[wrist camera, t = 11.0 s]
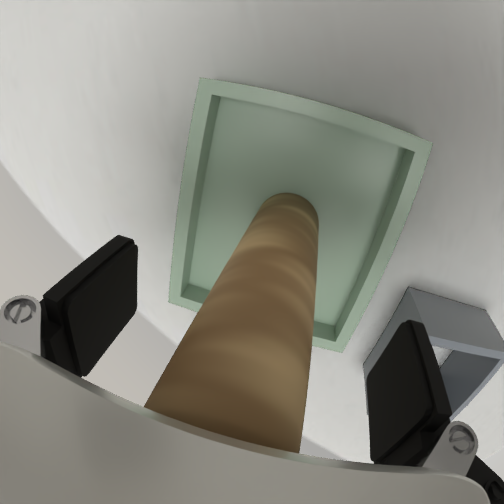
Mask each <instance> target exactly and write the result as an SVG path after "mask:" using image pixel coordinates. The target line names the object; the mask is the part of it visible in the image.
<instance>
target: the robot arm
mask: <svg viewBox="0 0 504 504" xmlns="http://www.w3.org/2000/svg"><path fill="white" fill-rule="evenodd" d="M137 261H138V247H137V245H135V243H134V240H133V239H130V238H127V237H124V236H121V235H117V236H116V237H114V238H113V239H112V240H110V241H109V242H108V243H106V244H105V245H104V246H102V247H101V248H100V249H99V250H97V251H96V252H95V253H93V254H92V255H91V256H90V257H88V258H87V259H86V260H85V261H83V262H82V263H81V264H80V265H78V266H77V267H76V268H75V269H73V270H72V271H71V272H70V273H69V274H67V275H66V276H65V277H64V278H63V279H61V280H60V281H59V282H58V283H57V284H55V285H54V286H53V287H52V288H51V289H50V290H48V291H47V292H46V293H45V294H44V295H43V298H44V299H42V300H41V301H40V302H39V301H38V300H37V299H35V298H34V297H31V296H28V295H20V296H15V297H13V298H11V299H9V300H8V301H6V302H5V303H4V304H3V306H2V307H1V310H0V504H504V482H503V480H502V479H501V478H500V477H499V476H498V475H497V474H496V473H495V472H494V471H492V470H491V469H490V468H489V467H488V466H487V465H486V464H485V463H484V462H483V461H482V460H481V459H480V458H478V457H477V456H476V452H477V449H478V439H477V436H476V434H475V432H474V431H473V429H472V428H471V427H470V426H469V425H467V424H465V423H464V422H460V421H454V422H450V417H451V416H452V415H453V414H452V410H451V406H450V403H449V399H448V396H447V392H446V389H445V385H444V382H443V379H442V375H441V372H440V369H439V366H438V363H437V360H436V357H435V354H434V351H433V348H432V345H431V342H430V339H429V337H428V334H427V331H426V328H425V326H424V324H423V323H421V322H417V321H414V320H410V319H409V320H407V321H406V322H402V323H401V324H400V325H399V327H398V329H397V330H396V332H395V333H394V335H393V337H392V338H391V340H390V342H389V343H388V345H387V346H386V348H385V349H384V351H383V353H382V354H381V356H380V357H379V359H378V360H377V362H376V363H375V365H374V366H373V368H372V369H371V371H370V372H369V374H368V376H367V379H366V387H367V399H368V414H369V432H370V458H371V460H372V461H374V464H370V463H360V462H351V461H343V460H335V459H328V458H322V457H315V456H309V455H304V454H299V453H293V452H288V451H284V450H279V449H274V448H270V447H266V446H261V445H257V444H253V443H249V442H245V441H242V440H238V439H234V438H231V437H227V436H224V435H221V434H217V433H214V432H211V431H208V430H205V429H201V428H198V427H195V426H192V425H190V424H187V423H184V422H181V421H178V420H176V419H173V418H170V417H167V416H165V415H162V414H160V413H157V412H155V411H152V410H150V409H147V408H145V407H142V406H140V405H138V404H135V403H133V402H131V401H128V400H126V399H124V398H122V397H119V396H117V395H115V394H113V393H111V392H109V391H107V390H105V389H102V388H100V387H98V386H96V385H94V384H92V383H90V382H88V381H86V380H84V379H82V378H81V377H82V376H87V375H88V374H89V373H90V371H91V370H92V369H93V367H94V366H95V364H96V363H97V361H99V359H100V358H101V357H102V355H103V354H104V353H105V351H106V350H107V348H108V347H109V346H110V345H111V343H112V342H113V341H114V340H115V338H116V337H117V336H118V334H119V333H120V332H121V331H122V329H123V328H124V327H125V325H126V324H127V323H128V322H129V320H130V319H131V318H132V317H133V315H134V314H135V312H136V309H137Z"/></svg>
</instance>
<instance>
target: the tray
mask: <svg viewBox="0 0 504 504" xmlns="http://www.w3.org/2000/svg"><path fill="white" fill-rule="evenodd" d="M432 145H433V143H431V142H429V141H427V140H424V139H422V138H420V137H417V136H415V135H413V134H410V133H408V132H405V131H403V130H400V129H398V128H395V127H393V126H390V125H387V124H385V123H382V122H379V121H377V120H374V119H371V118H368V117H365V116H362V115H359V114H356V113H353V112H350V111H347V110H344V109H341V108H338V107H334V106H331V105H327V104H324V103H321V102H317V101H313V100H310V99H306V98H302V97H298V96H294V95H290V94H286V93H282V92H277V91H273V90H268V89H264V88H259V87H254V86H249V85H244V84H238V83H232V82H226V81H220V80H214V79H207V78H200V80H199V85H198V89H197V94H196V99H195V104H194V109H193V115H192V120H191V126H190V131H189V137H188V143H187V149H186V155H185V161H184V167H183V174H182V181H181V188H180V195H179V202H178V210H177V218H176V227H175V235H174V244H173V254H172V264H171V275H170V287H169V300H168V302H169V303H172V304H175V305H178V306H181V307H184V308H187V309H190V310H193V311H196V312H198V311H199V310H200V308H201V306H202V304H203V303H204V301H205V299H206V298H207V296H208V294H209V292H210V291H211V289H212V287H213V286H214V284H215V282H216V281H217V279H218V277H219V275H220V274H221V272H222V270H223V269H224V267H225V265H226V264H227V262H228V260H229V259H230V257H231V255H232V253H233V252H234V250H235V248H236V247H237V245H238V243H239V242H240V240H241V238H242V237H243V235H244V233H245V232H246V230H247V228H248V227H249V225H250V223H251V222H252V220H253V218H254V217H255V215H256V213H257V212H258V210H259V208H260V207H261V205H262V204H263V203H264V202H265V201H266V200H267V199H268V198H270V197H271V196H273V195H276V194H279V193H294V194H297V195H300V196H302V197H304V198H305V199H307V200H308V201H309V202H310V203H311V204H312V205H313V207H314V208H315V210H316V212H317V215H318V219H319V235H318V261H317V281H316V297H315V312H314V326H313V338H312V346H316V347H320V348H324V349H328V350H332V351H336V352H340V353H342V352H343V350H344V349H345V347H346V345H347V343H348V341H349V340H350V338H351V336H352V334H353V332H354V331H355V329H356V327H357V325H358V323H359V321H360V319H361V317H362V315H363V313H364V312H365V310H366V308H367V306H368V304H369V302H370V300H371V298H372V296H373V294H374V292H375V289H376V287H377V285H378V283H379V281H380V279H381V277H382V275H383V273H384V270H385V268H386V266H387V264H388V262H389V259H390V257H391V255H392V253H393V250H394V248H395V246H396V243H397V241H398V239H399V236H400V234H401V231H402V229H403V227H404V224H405V222H406V219H407V217H408V214H409V211H410V209H411V206H412V204H413V201H414V198H415V196H416V193H417V190H418V187H419V184H420V182H421V179H422V176H423V173H424V170H425V167H426V164H427V161H428V158H429V155H430V152H431V148H432Z"/></svg>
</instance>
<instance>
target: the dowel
mask: <svg viewBox="0 0 504 504" xmlns="http://www.w3.org/2000/svg"><path fill="white" fill-rule="evenodd" d="M318 235H319V219H318V215H317V212H316V210H315V208H314V207H313V205H312V204H311V203H310V202H309V201H308V200H307V199H305V198H304V197H302V196H300V195H297V194H294V193H279V194H276V195H273V196H271V197H270V198H268V199H267V200H266V201H265V202H264V203H263V204H262V205H261V207H260V208H259V210H258V212H257V213H256V215H255V217H254V218H253V220H252V222H251V223H250V225H249V227H248V228H247V230H246V232H245V233H244V235H243V237H242V238H241V240H240V242H239V243H238V245H237V247H236V248H235V250H234V252H233V253H232V255H231V257H230V259H229V260H228V262H227V264H226V265H225V267H224V269H223V270H222V272H221V274H220V275H219V277H218V279H217V281H216V282H215V284H214V286H213V287H212V289H211V291H210V292H209V294H208V296H207V298H206V299H205V301H204V303H203V304H202V306H201V308H200V310H199V311H198V313H197V315H196V316H195V318H194V320H193V322H192V323H191V325H190V327H189V328H188V330H187V332H186V334H185V335H184V337H183V339H182V341H181V342H180V344H179V346H178V348H177V349H176V351H175V353H174V355H173V356H172V358H171V360H170V362H169V363H168V365H167V367H166V369H165V370H164V372H163V374H162V376H161V377H160V379H159V381H158V383H157V384H156V386H155V388H154V390H153V391H152V393H151V395H150V397H149V398H148V400H147V402H146V404H145V406H144V407H145V408H147V409H150V410H152V411H155V412H157V413H160V414H162V415H165V416H167V417H170V418H173V419H176V420H178V421H181V422H184V423H187V424H190V425H192V426H195V427H198V428H201V429H205V430H208V431H211V432H214V433H217V434H221V435H224V436H227V437H231V438H234V439H238V440H242V441H245V442H249V443H253V444H257V445H261V446H266V447H270V448H274V449H279V450H284V451H288V452H293V453H299V451H300V443H301V437H302V430H303V422H304V414H305V406H306V398H307V389H308V380H309V370H310V360H311V349H312V338H313V326H314V312H315V297H316V281H317V261H318Z"/></svg>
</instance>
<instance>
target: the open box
mask: <svg viewBox="0 0 504 504" xmlns="http://www.w3.org/2000/svg"><path fill="white" fill-rule="evenodd" d="M409 319H410V320H414V321H417V322H421V323H423V324H424V326H425V328H426V331H427V334H428V337H429V339H430V342H431V345H433V346H438V347H442V348H447V349H452V350H453V352H452V353H451V354H450V356H449V357H448V358H447V360H446V361H445V362H444V364H443V365H442V366H441V368H440V372H441V375H442V379H443V382H444V385H445V389H446V392H447V396H448V399H449V403H450V406H451V410H452V414H453V415H452V416H451V417H450V422H451V421H452V420H453V419H454V418H455V417H456V416H457V415H458V414H459V413H460V412H461V411H462V410H463V409H464V408H465V407H466V406H467V405H468V404H469V403H470V402H471V401H472V399H473V398H474V397H475V396H476V395H477V394H478V393H479V392H480V391H481V390H482V388H483V387H484V386H485V385H486V384H487V383H488V382H489V380H490V379H491V378H492V377H493V376H494V374H495V373H496V372H497V371H498V369H499V368H500V367H501V366H502V364H503V363H504V340H503V338H502V337H501V335H500V333H499V331H498V330H497V328H496V326H495V325H494V323H493V321H492V320H491V318H490V316H489V315H488V313H487V311H486V310H483V309H479V308H476V307H473V306H470V305H466V304H463V303H460V302H457V301H453V300H450V299H447V298H443V297H440V296H437V295H434V294H430V293H427V292H424V291H420V290H417V289H414V288H410V287H408V289H407V291H406V293H405V295H404V296H403V298H402V300H401V302H400V304H399V306H398V308H397V309H396V311H395V313H394V315H393V317H392V318H391V320H390V322H389V324H388V325H387V327H386V329H385V330H384V332H383V334H382V335H381V337H380V339H379V340H378V342H377V344H376V345H375V347H374V349H373V350H372V352H371V353H370V355H369V357H368V358H367V360H366V361H365V363H364V364H363V368H364V379H365V391H366V405H367V415H369V414H368V399H367V387H366V379H367V376H368V374H369V372H370V371H371V369H372V368H373V366H374V365H375V363H376V362H377V360H378V359H379V357H380V356H381V354H382V353H383V351H384V349H385V348H386V346H387V345H388V343H389V342H390V340H391V338H392V337H393V335H394V333H395V332H396V330H397V329H398V327H399V325H400V324H401V323H402V322H406V321H407V320H409Z"/></svg>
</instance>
